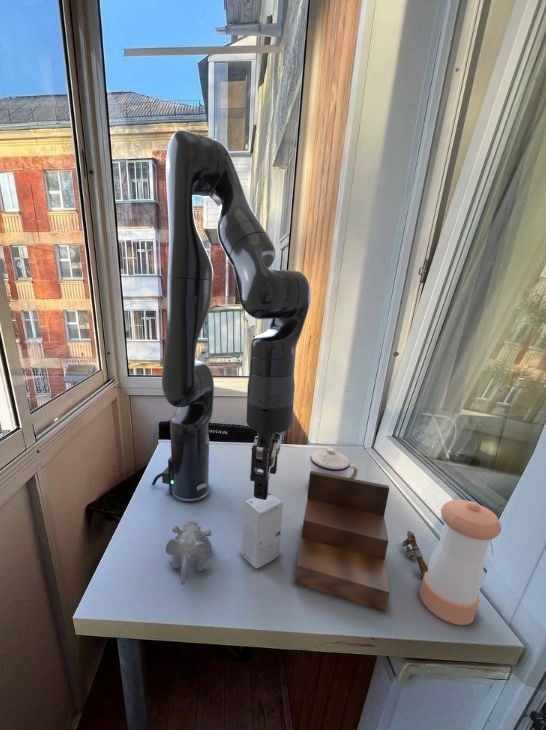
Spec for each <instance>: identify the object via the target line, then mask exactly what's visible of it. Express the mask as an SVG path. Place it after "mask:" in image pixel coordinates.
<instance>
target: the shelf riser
mask: <svg viewBox="0 0 546 730" xmlns="http://www.w3.org/2000/svg"><path fill="white" fill-rule="evenodd" d="M309 475H310V477H308V484H309V486H308V487H307V495H306V496H307V497H306V503H305V509H304V515H303V520H302V530H301V539H300V545H299V550H298V557H297V562H296V570H295V579H294V580H295V581H294V584H296V585H299V586H302V587H306V588H308V589H311V590H315V591H318V592H321V593H324V594H327V595H331V596H334V597H337V598H341V599H343V600H347V601H349V602H353V603H356V604H359V605H363V606H365V607H369V608H372V609H375V610H378V611H382V612H387V607H388V604H389V603H388V602H389V597H390V594H391V593H390V584H389V578H388V572H387V566H386V556H387V551H388V545H389V535H388V531H387V530H388V529H387V525H386V519H385V514H386V508H387V503H388V497H389V493H390V486H389V485H388V484H387V485H386V484H382V483H377V482H372V481H366V480H361V479H357V478H355V479H351V478H349V477H347V478H346V477H341V476H335V475H330V474H325V473H320V472H315V471H310V470H309Z"/></svg>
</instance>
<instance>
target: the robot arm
mask: <svg viewBox="0 0 546 730" xmlns="http://www.w3.org/2000/svg"><path fill="white" fill-rule="evenodd" d="M166 149H167V150H166V155H165V187H166V190H165V191H166V206H167V221H168V223H167V225H168V249H167V250H168V251H167V252H168V254H167V255H168V256H167V276H166V277H167V278H166V279H167V281H166V282H167V283H166V293H167V294H166V300H167V301H166V303H167V305H166V308H167V309H166V333H165V334H166V335H165V336H166V337H165V347H164V355H163V356H164V357H163V364H162V372H161V388H162V392H163V396H164V397H165V399H166V401H167V402H168V403H169V404H170V405H171V406H173V407H175V408H176V410H175V411H174V413H173V414H172V416H171V418H170V420H169V432H170V456H169V458H168V460H167V466H166V468H165V469H164V470H163V471H162V472H160V473H158V474H157V475H156V476H155V477H154V479H153V480H152V482H151V486H153V487H154V486H155V485H156V483H157V481H158V480H159V479H160V478H161V482H162V484H165V485H168V494H169V495H172V496H173V497H174V498H175V499H176V500H178V501H180V502H184V503H193V502H199V501H202V500H204V499H206V498H207V497H208V495H209V493H210V482H209V481H210V422H211V420H212V416H213V411H214V394H215V392H214V391H215V387H214V386H215V383H214V377H213V376H214V375H213V373H212V370H211V369H210V367H209V366H208V365H207V364H206V363H205V362H203V361H201V360H198V359H197V360H196V353H197V346H198V341H199V338H200V335H201V332H202V330H203V327H204V325H205V322H206V320H207V318H208V315H209V312H210V308H211V305H212V298H213V285H214V283H213V282H214V280H213V279H214V268H213V264H212V261H211V258H210V256H209V254H208V252H207V249H206V247H205V245H204V243H203V241H202V238H201V236H200V234H199V231H198V228H197V225H196V221H195V215H194V204H193V203H194V202H193V199H194V198H193V196H196V197H202V198H209V199H211V201H213V203H214V204H215V205H216V206H217V207H218V209H219V213H218V219H217V223H216V227H217V228H216V231H217V237H218V241H219V244H220V246H221V249H222V250H223V252H224V253H225V256H226V257H227V259H228V261H229V263H230V265H231V266H232V268H233V273H234V278H235V284H236V288H237V293H238V294H237V295H238V299H239V302H240V306H241V307H242V309H243V311H245V313H247V314H248V315H249V316H250V317H251V318H254V319H256V320H271V321H270V325H269V327H268V329H267V330H266V331H264V332H262V333H260V334H258V335H256V336H254V337H253V338H252V340H251V341H250V347H249V348H250V350H249V351H250V352H249V374H248V380H247V392H246V393H247V394H246V396H247V397H246V424H247V426H248V427H249V428H251V429H252V430H254V431H256V432H257V436H254V439H253V440H254V441H253V444H252V447H251V448H250V449H251V450H250V451H251V457H250V458H251V459H250V475H249V480H250V481H251V482H253V497H255V498H258V499H262V500H266V499H267V497H268V492H269V480H270V474H271V475H276V474H277V470H278V455H279V454H280V450H281V446H282V437H283V436H282V433H284V432H287V431H289V430H290V429H291V427H292V426H293V417H294V403H295V389H296V388H295V387H296V384H295V368H296V367H295V365H296V354H297V353H296V352H297V351H296V349H297V346H298V342H299V340H300V338H301V335H302V332H303V330H304V325H305V322H306V320H307V316H308V313H309V309H310V307H311V301H312V300H311V299H312V292H311V287H310V283H309V281H308V278H307V277H306V275H304V274H303V273H302V272H301V271H298V270H295V269H270V268H271V266H272V265H273V264H274V262H275V259H276V249H275V246H274V243H273V242H272V240H271V238H270V236H269V235H268V233H267V232H266V230H265V229H264V227H263V225H262V224H261V223H260V221H259V219H258V217H257V216H256V214H255V213H254V211H253V209H252V207H251V205H250V203H249V201H248V198H247V196H246V193H245V191H244V188H243V186H242V183H241V179H240V178H239V175H238V171H237V169H236V166H235V164H234V161H233V159H232V156H231V154H230V152H229V150H228V148H227V147H226V146H225V145H224V144H223V142H221V141H219V140H217V139H216V138H212V137H207V136H205V135H201V134H198V133H195V132H193V131H192V132H191V131H188V130H183V129H182V130H181V129H180V130H177V131H175V132H174V133H173V134H172V135H171V138H170V140H169V142H168V145H167V148H166ZM259 470H262V471H263V472H261V471H259Z"/></svg>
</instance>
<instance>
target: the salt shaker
mask: <svg viewBox="0 0 546 730" xmlns="http://www.w3.org/2000/svg"><path fill="white" fill-rule="evenodd" d="M440 515H441V519H442V521H443V522H444V523H443V526H442V531H441V534H440V538H439V542H438V544H437V545H436V546H435V549H434V551H433V553H432V555H431V557H430V560H429V563H428V566H427V567H428V571H427V572H425V574H424V576H423V578H422V580H421V584H420V587H419V597H420V599H421V601H422V604H424V606H425V607H426V609H428V610H429V611H430V612H431V613H432V614H433V615H435V616H436V617H437V618H440V619H442V620H443V621H446V622H447V623H450V624H453V625H459V626H465V625H466V626H467V625H470V624H471V623H473V622H474V619H475V616H476V613H477V610H478V607H479V604H480V597H479V594H480V590H481V588H482V585H483V582H484V569H485V567H484V566H485V557H486V554H487V551H488V548H489V544H490V541H492V540H493V539H495V538H497V537H498V536H499V535H500V534H501V532H502V524H501V522H500V520H499V518H498V517H497V515H496V514H495V513H494V512H493V511H492V510H491V509H489V508H487V507H485V506H483V505H481V504H479V503H478V502H475V501H470V500H465V499H451V500H449V501H447V502H445V503H444V504H443V505H442V506H441V508H440Z"/></svg>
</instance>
